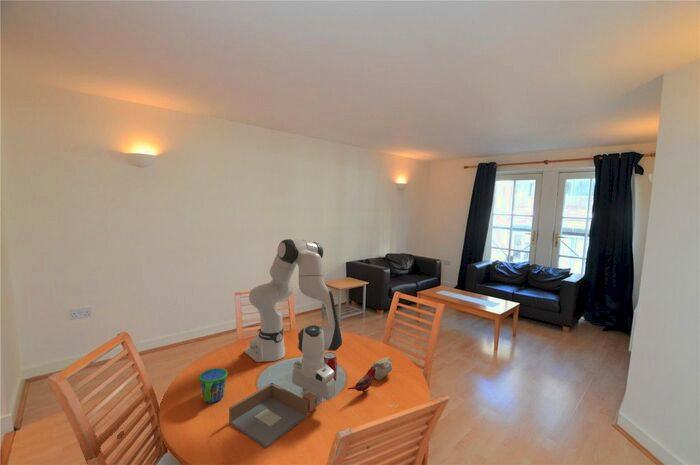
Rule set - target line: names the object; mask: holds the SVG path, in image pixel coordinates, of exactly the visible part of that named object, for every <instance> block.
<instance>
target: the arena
mask: <svg viewBox="0 0 700 465" xmlns="http://www.w3.org/2000/svg"><path fill="white" fill-rule="evenodd" d="M228 412H229V413H228V423H229V424H230V425H231V426H233V427H235V428H236V429H237V430H239V432H241V433H243V434H244V435H246V436H247V437H249V439H250V438H251V440H253V441H254V442H256V443H257V444H258V445H260V446H261V447H263V448H264V449H267V448H268V447H270V446H271V445H272V444H273V443H275V442H276V441H277V440H279V439H280V438H281V437H283V436H284V435H285V434H286V433H288V432H289V431H290V430H292V429H293V428H294V427H296V426H297V425H298V424H299V423H301V422H302V421H303V420H304V419H306V418H307V417H309V416H308V415H309V411H308V401H307V400H305V399H303V397H301V396H299V395H297V394H295V393H293V392H290V391H289V390H287V389H285V388H283V387H281V386H279V385H278V384H276V383H273V382H271V383H269V384H267V385H265V386H264V387H262V388H260V389H259V390H257V391H255V392H254V393H252V394H249V395H248V396H247V397H245V398H243V399H241V400H239V401H238V402H236V403H234V404H232V405H231V406H229V407H228Z"/></svg>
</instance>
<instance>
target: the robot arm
mask: <svg viewBox="0 0 700 465" xmlns="http://www.w3.org/2000/svg"><path fill="white" fill-rule="evenodd" d="M323 257H324V249H323V246H322V245H321V244H320V243H319V242H316V241H310V240H305V239H289V238H287V239H283V240H281V241H280V243H279V245H278V246H277V253H276V255H275V257H274V260H273V261H272V265H271V266H270V269H269V274H270V277H271V278H272V280H271V281H270V282H267V283H264V284H260V285H258V286H255V287H254V288H252V289H251V290H250V291H249V295H248V300H249V303H250V304H251V306H252V307H253V308H255V309H256V310H257V311H258V313H259V316H260V318H259V320H260V328H259V329H257V332H258V335H256V336H255V337H254V338H252V339H251V340H250V342H249V346H248V347H247V348H245V350H244V353H245V354H246V355H247V356H249V357H250V358H251V359H252V360H254V361H255V362H257V363H262V362H273V361H274V362H275V361H279V360H281V359H283V358H284V357H285V356H286V347H285V339H284V328H283V313H282V312H281V311H280V310H278V309H277V307H276V304H277V303H279V302H282V301H283V302H284V301H285V300H286V299H288V298H289V297H291V296H292V294H293V291H294V287H293V284H292V283H291V278H292V275H293V273H294V271H295V270H296V267H297V266H298V287H299V288H298V289H299V290H300V292H301V294H303V295H304V296H305V297H308V298H309V299H312V300H315V301H318V302H320V303H322V304H323V305H324V307H325V309H326V315H327V316H326V317H327V321H328V325H326V326H319V325H313V324H311V325H308V326H307V327H303V328H302V329H301V330H300V331H299V332H298V333H297V334H298V335H297V337H298V339H297V340H298V344H297V349H298V350H299V351H300V353H302V358H301V362H300V361H295V362H294V363H293V370H292V374H291V382H292V384H293V385H295V386H297V387H299V388H301V391H302V393H303V395H305V394H306V393H308V392H311V393H313V394H316V395H317V397H318V398H317V399H316V400H315V404H317V405H318V406H319V405H321V404H322V403H321V398H322V399H323V400H326V401H330V400H332V399H333V398H334V397H335V395H336V380H334V378H333V376H334V374H335V373H334V371H333V370H332V369H331V368H330V367H329V366H328V365H327V364H326V363H325V362H324V357H323V354H324V353H325V351H329V352H335V351H337V350H339V348H341V347H342V345H343V333H342V331H341V328H340V322H339V318H338V314H337V308H336V304H335V303H336V302H335V299H334V295H333V292H332V289H331V288H329V287H327V285H326V283H325V279H324V278H325V277H324V265H323V260H322V258H323ZM320 403H321V404H320Z"/></svg>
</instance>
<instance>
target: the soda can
mask: <svg viewBox="0 0 700 465" xmlns="http://www.w3.org/2000/svg"><path fill="white" fill-rule="evenodd" d="M323 357H324V362H325V363H326V364H327V365H328V366H329V367H330V368H331V369H332V370H333V371H334V373H335V374H334V376H333V378H334V380H335V381H337V377H338V358H337V355H336V353H335V352H333V351H329V352H324V354H323Z"/></svg>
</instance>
